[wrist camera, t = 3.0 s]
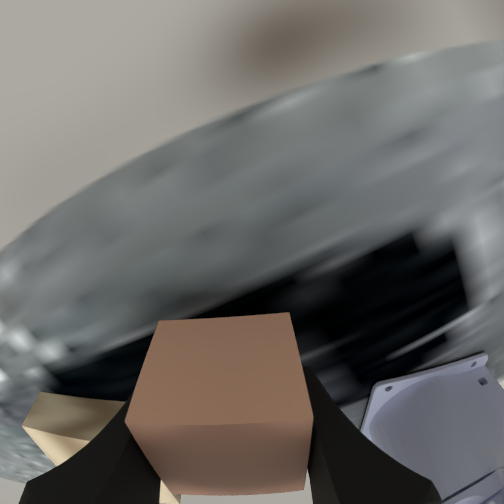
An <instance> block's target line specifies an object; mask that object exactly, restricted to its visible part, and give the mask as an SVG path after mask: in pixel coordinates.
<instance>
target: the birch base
mask: <svg viewBox="0 0 504 504" xmlns="http://www.w3.org/2000/svg"><path fill="white" fill-rule="evenodd" d="M124 404H125V402H122V401H110V400H99V399H89V398H81V397H73V396H66V395H59V394H52V393H46V392H40V393H39V395H38V396H37V398H36V400H35V402H34V404H33V406H32V407H31V409H30V411H29V413H28V415H27V417H26V419H25V420H24V422H23V424H22V427H23V428H24V429H25V430H26V432H27V433H28V434H29V435H30V437H31V438H32V439H33V440H34V441H35V443H36V444H37V445H38V446H39V447H40V448H41V450H42V451H43V452H44V453H45V454H46V455H47V456H48V457H49V458H50V460H51V461H52V462H53V463H54V464H55V465H56V466H58V465H60V464H62V463H63V462H65V461H66V460H68V459H69V458H70V457H72V456H73V455H74V454H75V453H77V452H78V451H79V450H81V449H82V448H83V447H84V446H85V445H87V444H88V443H89V442H90V441H91V440H92V439H93V438H94V437H95V436H96V435H97V434H98V433H99V432H100V431H101V430H102V429H103V428H104V427H105V426H106V425H107V424H108V423H109V422H110V420H111V419H112V418H113V417H114V416H115V415H116V414H117V412H118V411H119V410H120V409H121V407H122V406H123V405H124ZM180 499H181V494H173V493H171V492H170V491H169V490H168V488H167V487H166V486H165V484H164V483H163V481H162V480H161V486H160V501H159V503H169V504H180Z"/></svg>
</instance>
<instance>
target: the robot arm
mask: <svg viewBox="0 0 504 504" xmlns="http://www.w3.org/2000/svg"><path fill="white" fill-rule="evenodd" d="M487 360H488V355H487V354H486V353H481V354H478V355H475V356H472V357H469V358H466V359H463V360H460V361H456V362H453V363H450V364H446V365H443V366H440V367H436V368H433V369H429V370H425V371H421V372H418V373H414V374H410V375H405V376H401V377H397V378H393V379H388V380H384V381H380V382H377V383H376V384H375V385H374V386H373V388H372V391H371V395H370V399H369V402H368V406H367V410H366V413H365V416H364V420H363V423H362V426H361V430H360V431H359V430H358V429H357V428H356V426H355V425H354V424H353V423H352V422H351V421H350V420H349V419H348V418H347V417H346V416H345V414H344V413H343V412H342V411H341V410H340V408H339V407H338V406H337V405H336V403H335V402H334V401H333V399H332V398H331V397H330V395H329V394H328V393H327V391H326V390H325V388H324V387H323V385H322V384H321V382H320V381H319V379H318V377H317V375H316V374H315V372H314V370H313V368H311V367H302V369H303V373H304V377H305V382H306V386H307V390H308V395H309V399H310V404H311V408H312V413H313V426H312V434H311V443H310V451H309V458H308V466H307V468H308V473H309V478H310V484H311V492H312V499H313V504H504V389H503V388H502V387H501V385H500V384H499V383H498V381H497V380H496V379H495V377H494V376H493V375H492V374H491V372H490V371H489V370H488V368H487V367H486V366H485V364H486V362H487ZM133 393H134V392H133ZM133 393H132V395H131V396H130V397H129V398H128V400H127V401H126V402H125V404H124V405H123V406H122V407H121V409H120V410H119V411H118V412H117V414H116V415H115V416H114V417H113V418H112V419H111V420H110V422H109V423H108V424H107V425H106V426H105V427H104V428H103V429H102V430H101V431H100V432H99V433H98V434H97V435H96V436H95V437H94V438H93V439H92V440H91V441H90V442H89V443H88V444H87V445H85V446H84V447H83V448H82V449H81V450H79V451H78V452H77V453H75V454H74V455H73V456H72V457H70V458H69V459H68V460H66V461H65V462H63V463H62V464H60V465H58V466H57V467H55V468H53V469H52V470H50V471H48V472H46V473H44V474H42V475H40V476H38V477H36V478H34V479H32V480H30V481H27V483H26V486H25V488H24V491H23V494H22V496H21V499H20V502H19V504H159V501H160V486H161V479H160V477H159V476H158V474H157V473H156V471H155V470H154V468H153V467H152V465H151V464H150V462H149V461H148V459H147V458H146V456H145V455H144V453H143V451H142V450H141V448H140V447H139V445H138V443H137V442H136V440H135V438H134V437H133V435H132V433H131V432H130V430H129V428H128V427H127V425H126V423H125V418H126V415H127V412H128V409H129V406H130V403H131V400H132V396H133Z"/></svg>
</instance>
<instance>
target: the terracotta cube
mask: <svg viewBox="0 0 504 504" xmlns="http://www.w3.org/2000/svg"><path fill="white" fill-rule="evenodd" d="M125 423H126V425H127V427H128V428H129V430H130V432H131V433H132V435H133V437H134V438H135V440H136V442H137V443H138V445H139V447H140V448H141V450H142V451H143V453H144V455H145V456H146V458H147V459H148V461H149V462H150V464H151V465H152V467H153V468H154V470H155V471H156V473H157V474H158V476H159V477H160V479H161V480H162V481H163V483H164V484H165V486H166V487H167V488H168V490H169V491H170V492H171V493H173V494H190V495H255V494H270V493H282V492H291V491H299V490H304V486H305V480H306V473H307V466H308V458H309V451H310V443H311V434H312V426H313V413H312V408H311V404H310V399H309V395H308V390H307V386H306V382H305V377H304V373H303V369H302V364H301V360H300V356H299V351H298V347H297V343H296V339H295V334H294V330H293V326H292V322H291V318H290V313H289V312H286V313H275V314H264V315H251V316H238V317H223V318H206V319H186V320H162V321H159V322H158V325H157V327H156V330H155V333H154V336H153V338H152V341H151V344H150V347H149V350H148V352H147V355H146V358H145V361H144V364H143V367H142V370H141V373H140V375H139V378H138V381H137V384H136V387H135V390H134V393H133V396H132V400H131V403H130V406H129V409H128V412H127V415H126V418H125Z"/></svg>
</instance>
